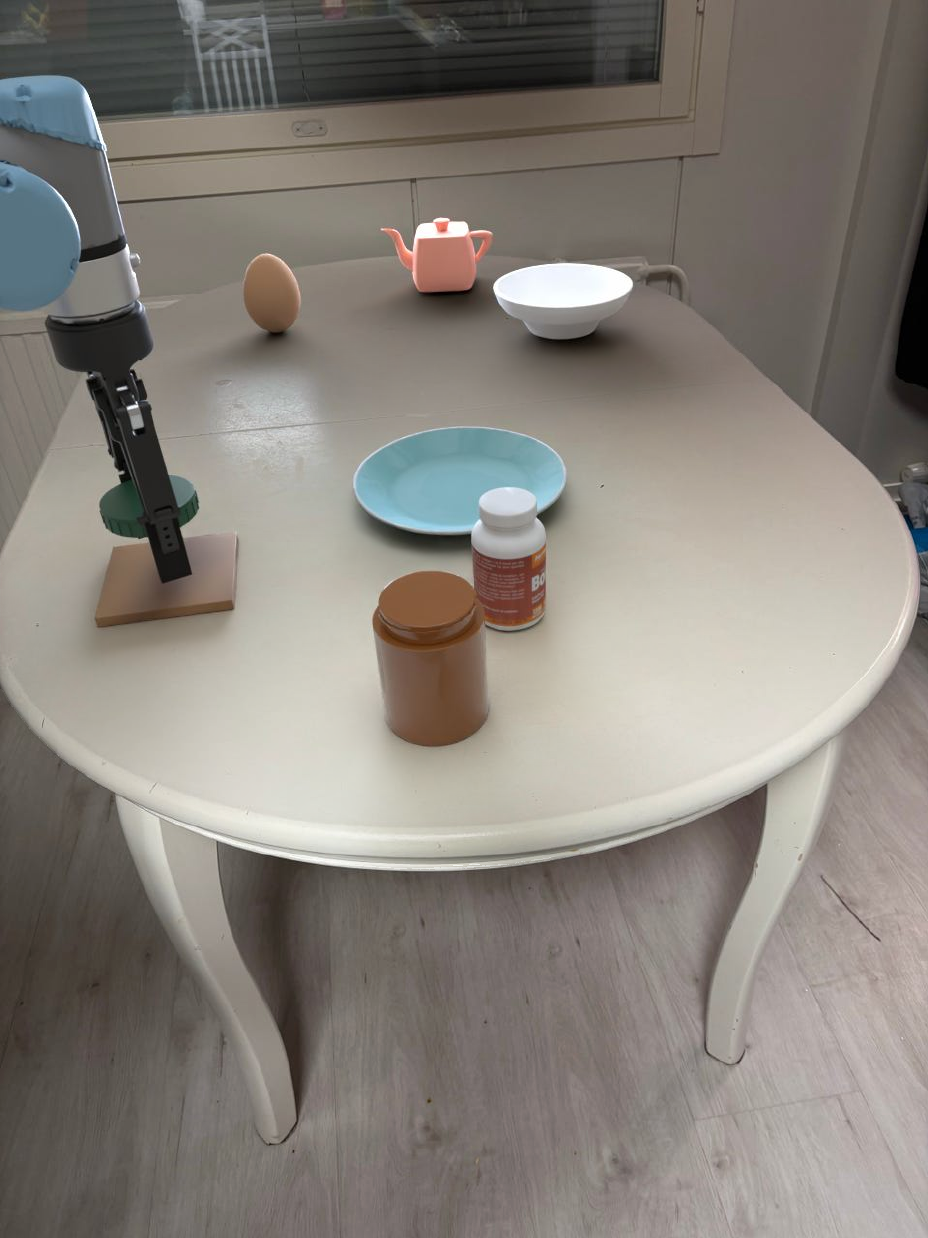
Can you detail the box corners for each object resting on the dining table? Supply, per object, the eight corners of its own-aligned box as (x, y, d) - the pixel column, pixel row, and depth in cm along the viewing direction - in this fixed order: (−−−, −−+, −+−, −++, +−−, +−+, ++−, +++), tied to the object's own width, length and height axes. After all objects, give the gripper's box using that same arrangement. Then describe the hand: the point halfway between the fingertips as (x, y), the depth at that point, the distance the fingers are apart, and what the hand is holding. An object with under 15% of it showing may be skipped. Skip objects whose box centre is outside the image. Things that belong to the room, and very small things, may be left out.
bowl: (553, 300, 145) (553, 255, 141) (657, 326, 134) (661, 278, 130) (467, 336, 134) (464, 289, 130) (572, 368, 123) (573, 317, 119)
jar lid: (209, 490, 86) (205, 472, 85) (186, 537, 79) (181, 519, 78) (121, 492, 86) (115, 475, 85) (90, 539, 80) (84, 521, 78)
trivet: (97, 627, 82) (93, 618, 81) (115, 555, 91) (113, 546, 91) (234, 609, 83) (232, 600, 82) (238, 539, 92) (236, 531, 92)
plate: (539, 567, 86) (539, 541, 84) (320, 539, 92) (316, 515, 90) (585, 458, 103) (586, 435, 101) (398, 440, 108) (396, 418, 107)
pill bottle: (546, 633, 78) (546, 520, 71) (473, 633, 78) (466, 520, 72) (545, 591, 83) (546, 481, 76) (476, 591, 83) (471, 482, 77)
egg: (261, 345, 136) (246, 266, 129) (242, 329, 142) (227, 253, 135) (313, 332, 139) (302, 255, 132) (293, 317, 145) (281, 242, 138)
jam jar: (390, 753, 68) (374, 639, 61) (380, 683, 74) (365, 573, 67) (497, 737, 68) (493, 623, 62) (478, 669, 75) (473, 559, 68)
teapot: (495, 293, 149) (493, 225, 143) (384, 299, 150) (377, 231, 144) (493, 272, 158) (492, 207, 152) (389, 277, 159) (383, 213, 153)
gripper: (176, 336, 66) (238, 597, 79) (112, 266, 80) (173, 496, 94) (68, 359, 63) (151, 625, 76) (22, 283, 78) (98, 517, 91)
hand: (163, 554), depth 85 cm, fingers closed on jar lid, 8 cm apart
